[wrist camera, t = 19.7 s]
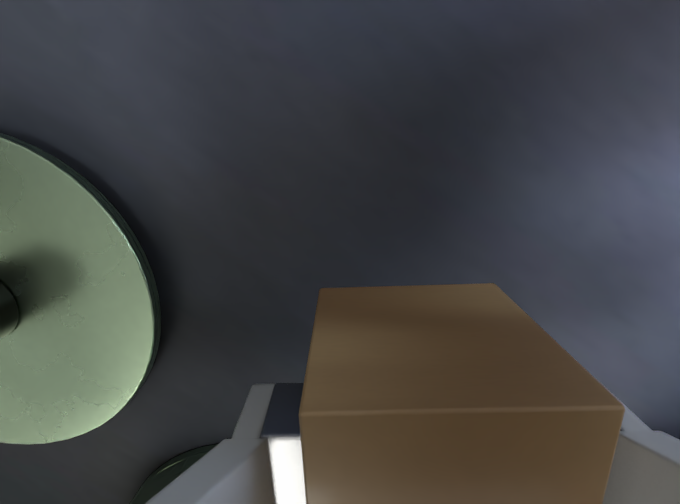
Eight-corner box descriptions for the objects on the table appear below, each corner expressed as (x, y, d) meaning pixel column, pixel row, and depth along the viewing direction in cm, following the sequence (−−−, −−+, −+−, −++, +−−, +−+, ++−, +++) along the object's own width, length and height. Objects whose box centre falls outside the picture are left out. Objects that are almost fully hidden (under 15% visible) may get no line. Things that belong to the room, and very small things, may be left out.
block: (327, 427, 11) (316, 624, 6) (319, 287, 9) (297, 414, 5) (480, 424, 10) (575, 622, 6) (494, 282, 9) (628, 407, 5)
